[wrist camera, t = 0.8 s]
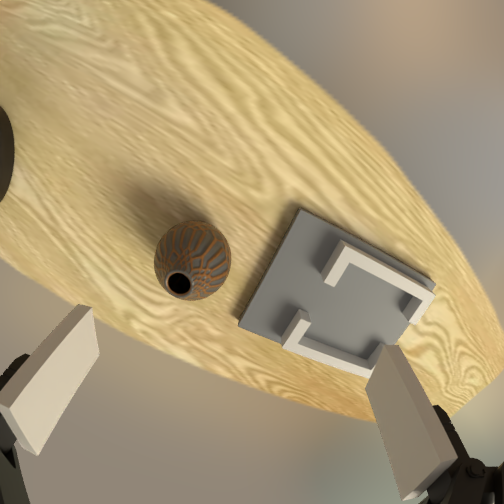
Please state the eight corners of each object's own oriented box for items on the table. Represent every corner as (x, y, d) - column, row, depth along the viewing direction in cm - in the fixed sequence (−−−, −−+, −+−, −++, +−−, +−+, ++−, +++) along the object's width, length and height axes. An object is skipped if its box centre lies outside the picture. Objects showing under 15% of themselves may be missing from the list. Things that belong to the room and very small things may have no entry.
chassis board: (238, 320, 34) (236, 336, 31) (299, 207, 30) (303, 214, 26) (367, 369, 36) (373, 385, 33) (431, 279, 31) (444, 291, 28)
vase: (169, 210, 30) (136, 235, 22) (238, 218, 30) (228, 247, 22) (167, 273, 32) (138, 315, 24) (230, 282, 32) (219, 329, 24)
